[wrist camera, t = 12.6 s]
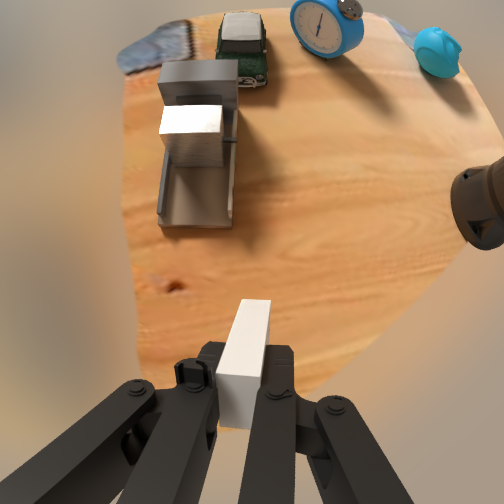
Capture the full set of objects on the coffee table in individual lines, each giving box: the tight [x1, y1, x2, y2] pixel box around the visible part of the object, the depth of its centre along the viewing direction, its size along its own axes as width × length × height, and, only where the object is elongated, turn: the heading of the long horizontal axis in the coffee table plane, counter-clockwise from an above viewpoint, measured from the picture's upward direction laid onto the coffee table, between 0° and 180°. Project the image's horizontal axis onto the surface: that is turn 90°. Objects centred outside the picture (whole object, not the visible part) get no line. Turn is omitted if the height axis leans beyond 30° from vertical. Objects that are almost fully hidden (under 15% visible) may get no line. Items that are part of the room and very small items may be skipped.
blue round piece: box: [414, 27, 462, 78], centre depth 44 cm, size 12×11×12 cm
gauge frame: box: [157, 60, 238, 229], centre depth 37 cm, size 10×20×12 cm, turn 179°
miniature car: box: [215, 12, 268, 87], centre depth 44 cm, size 9×18×8 cm, turn 0°
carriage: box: [159, 105, 237, 167], centre depth 37 cm, size 9×4×9 cm, turn 89°
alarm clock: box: [290, 0, 364, 61], centre depth 41 cm, size 13×6×15 cm, turn 43°
